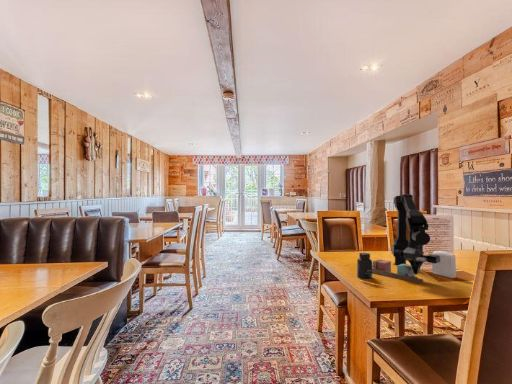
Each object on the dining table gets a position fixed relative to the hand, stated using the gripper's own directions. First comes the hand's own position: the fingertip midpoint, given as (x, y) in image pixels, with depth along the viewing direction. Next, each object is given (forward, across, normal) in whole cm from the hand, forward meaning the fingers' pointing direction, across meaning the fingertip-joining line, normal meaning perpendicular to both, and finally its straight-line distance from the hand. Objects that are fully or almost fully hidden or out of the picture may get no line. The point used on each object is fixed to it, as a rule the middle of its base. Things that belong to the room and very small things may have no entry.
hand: (415, 274), depth 132 cm
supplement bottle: (+3, -17, -15) cm, 23 cm away
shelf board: (+3, -7, 0) cm, 8 cm away
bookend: (+2, -2, 0) cm, 3 cm away
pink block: (+2, -15, 0) cm, 15 cm away
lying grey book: (+4, -24, +10) cm, 26 cm away
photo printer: (+3, +6, +18) cm, 19 cm away
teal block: (+2, -5, 0) cm, 6 cm away
